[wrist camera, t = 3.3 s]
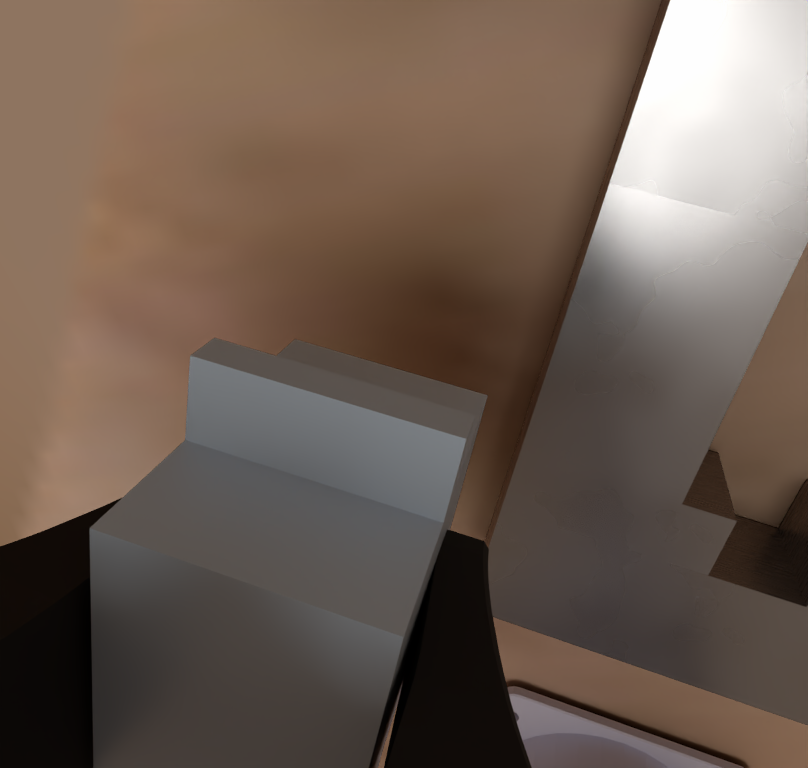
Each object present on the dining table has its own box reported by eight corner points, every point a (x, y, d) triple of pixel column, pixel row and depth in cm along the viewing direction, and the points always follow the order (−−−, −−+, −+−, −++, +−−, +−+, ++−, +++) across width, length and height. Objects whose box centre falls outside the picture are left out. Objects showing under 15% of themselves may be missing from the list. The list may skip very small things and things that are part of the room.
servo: (411, 665, 15) (315, 967, 10) (258, 610, 15) (95, 873, 10) (506, 328, 11) (428, 541, 6) (303, 272, 12) (87, 430, 7)
